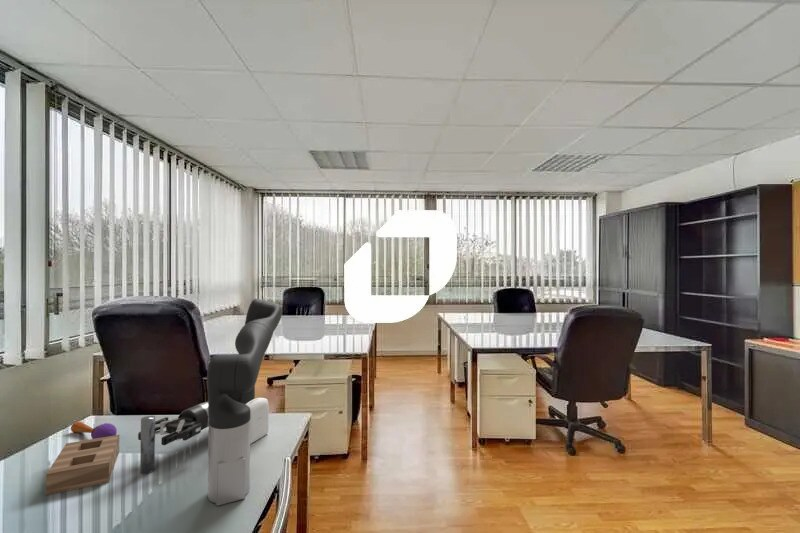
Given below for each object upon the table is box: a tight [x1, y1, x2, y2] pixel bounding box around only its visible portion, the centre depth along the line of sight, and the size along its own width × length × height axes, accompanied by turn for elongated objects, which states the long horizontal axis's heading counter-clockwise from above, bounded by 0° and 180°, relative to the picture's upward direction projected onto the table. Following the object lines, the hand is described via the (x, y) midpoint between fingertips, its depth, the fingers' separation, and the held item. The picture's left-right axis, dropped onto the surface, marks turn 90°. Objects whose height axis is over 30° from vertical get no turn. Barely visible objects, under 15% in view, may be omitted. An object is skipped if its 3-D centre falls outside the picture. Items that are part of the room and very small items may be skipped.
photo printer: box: [246, 397, 270, 445], centre depth 123 cm, size 10×4×12 cm, turn 160°
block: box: [45, 434, 120, 496], centre depth 102 cm, size 18×12×5 cm, turn 29°
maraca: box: [70, 421, 118, 439], centre depth 122 cm, size 6×6×20 cm
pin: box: [139, 415, 156, 475], centre depth 103 cm, size 3×3×14 cm
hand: (150, 439), depth 104 cm, fingers open, 8 cm apart
